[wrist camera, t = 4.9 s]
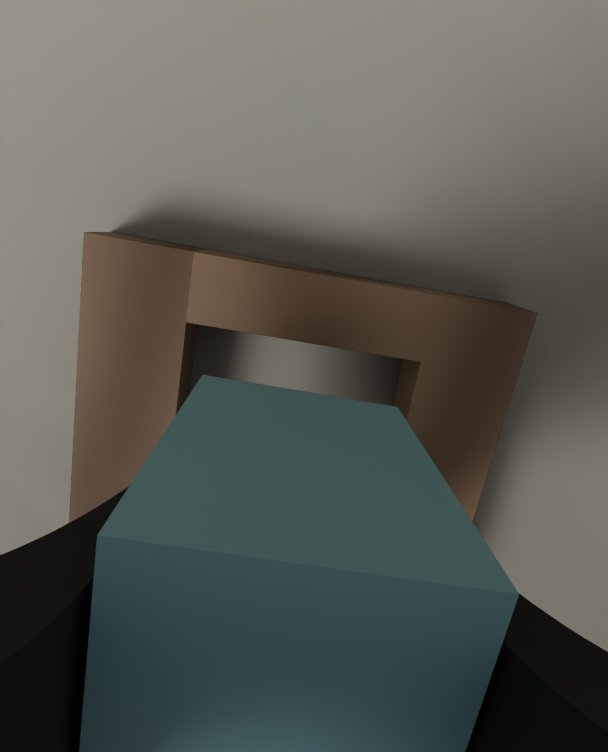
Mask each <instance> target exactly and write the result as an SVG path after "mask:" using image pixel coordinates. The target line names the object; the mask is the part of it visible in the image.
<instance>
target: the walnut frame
mask: <svg viewBox="0 0 608 752" xmlns="http://www.w3.org/2000/svg"><path fill="white" fill-rule="evenodd" d="M536 316H537V313H535V312H532V311H529V310H526V309H523V308H520V307H517V306H515V305H512V304H509V303H503V302H498V301H492V300H487V299H481V298H475V297H470V296H464V295H459V294H453V293H448V292H442V291H436V290H431V289H425V288H420V287H414V286H409V285H403V284H397V283H392V282H386V281H381V280H375V279H370V278H364V277H358V276H353V275H347V274H342V273H336V272H331V271H325V270H320V269H314V268H308V267H303V266H297V265H292V264H286V263H281V262H275V261H269V260H264V259H258V258H253V257H247V256H242V255H236V254H230V253H225V252H219V251H214V250H208V249H203V248H197V247H191V246H186V245H180V244H175V243H169V242H164V241H158V240H152V239H147V238H141V237H136V236H130V235H125V234H119V233H113V232H84V242H83V261H82V281H81V300H80V320H79V339H78V359H77V378H76V398H75V417H74V437H73V456H72V476H71V495H70V515H69V523H70V522H72V521H73V520H75V519H77V518H79V517H80V516H82V515H84V514H86V513H87V512H89V511H91V510H93V509H95V508H96V507H98V506H99V505H101V504H102V503H104V502H106V501H107V500H109V499H110V498H112V497H113V496H115V495H116V494H118V493H119V492H121V491H122V490H124V489H125V488H127V487H128V486H130V484H131V483H132V481H133V480H134V478H135V477H136V475H137V474H138V472H139V471H140V469H141V468H142V466H143V465H144V463H145V462H146V460H147V459H148V457H149V455H150V454H151V452H152V451H153V449H154V448H155V446H156V445H157V443H158V442H159V440H160V439H161V437H162V436H163V434H164V433H165V431H166V430H167V428H168V427H169V425H170V423H171V422H172V420H173V419H174V417H175V416H176V414H177V413H178V411H179V410H180V408H181V407H182V405H183V404H184V402H185V401H186V399H187V398H188V396H189V388H190V380H191V372H192V363H193V355H194V346H195V338H196V329H197V324H199V325H205V326H211V327H217V328H223V329H229V330H235V331H241V332H247V333H253V334H259V335H265V336H270V337H276V338H282V339H288V340H294V341H300V342H306V343H312V344H318V345H324V346H330V347H336V348H342V349H348V350H353V351H359V352H365V353H371V354H377V355H383V356H389V357H395V358H401V359H403V363H402V367H401V371H400V375H399V379H398V384H397V388H396V392H395V396H394V400H393V404H392V406H395V407H398V409H399V410H400V412H401V413H402V415H403V416H404V418H405V419H406V421H407V422H408V424H409V425H410V427H411V429H412V430H413V432H414V433H415V435H416V436H417V438H418V439H419V441H420V442H421V444H422V445H423V447H424V448H425V450H426V452H427V453H428V455H429V456H430V458H431V459H432V461H433V462H434V464H435V465H436V467H437V468H438V470H439V472H440V473H441V475H442V476H443V478H444V479H445V481H446V482H447V484H448V485H449V487H450V488H451V490H452V492H453V493H454V495H455V496H456V498H457V499H458V501H459V502H460V504H461V505H462V507H463V508H464V510H465V512H466V513H467V515H468V516H469V518H470V519H471V521H472V522H473V519H474V516H475V512H476V509H477V506H478V503H479V499H480V496H481V493H482V490H483V487H484V483H485V480H486V477H487V474H488V470H489V467H490V464H491V461H492V457H493V454H494V451H495V448H496V445H497V441H498V438H499V435H500V432H501V428H502V425H503V422H504V419H505V416H506V412H507V409H508V406H509V403H510V399H511V396H512V393H513V390H514V387H515V383H516V380H517V377H518V374H519V370H520V367H521V364H522V361H523V357H524V354H525V351H526V348H527V345H528V341H529V338H530V335H531V332H532V328H533V325H534V322H535V319H536Z"/></svg>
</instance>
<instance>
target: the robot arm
mask: <svg viewBox="0 0 608 752" xmlns="http://www.w3.org/2000/svg"><path fill="white" fill-rule="evenodd" d="M128 488H129V486H128V487H127V488H125V489H124V490H122V491H121V492H119V493H118V494H116V495H115V496H113V497H112V498H110V499H109V500H107V501H106V502H104V503H102V504H101V505H99V506H98V507H96V508H95V509H93V510H91V511H89V512H87V513H86V514H84V515H82V516H80V517H79V518H77V519H75V520H73V521H72V522H70V523H68V524H66V525H65V526H63V527H61V528H59V529H57V530H55V531H53V532H51V533H49V534H47V535H45V536H43V537H41V538H39V539H37V540H35V541H32V542H30V543H28V544H26V545H23V546H21V547H19V548H17V549H14V550H12V551H10V552H7V553H5V554H2V555H0V752H79V746H80V734H81V722H82V710H83V698H84V686H85V674H86V663H87V651H88V639H89V627H90V615H91V603H92V591H93V579H94V567H95V555H96V543H97V535H98V533H99V532H100V530H101V529H102V527H103V526H104V524H105V523H106V521H107V520H108V518H109V516H110V515H111V513H112V512H113V510H114V509H115V507H116V506H117V504H118V503H119V501H120V500H121V498H122V497H123V495H124V494H125V492H126V491H127V489H128ZM465 752H608V652H607V651H605V650H603V649H602V648H600V647H598V646H597V645H595V644H593V643H592V642H590V641H588V640H587V639H585V638H583V637H582V636H580V635H578V634H577V633H575V632H574V631H572V630H571V629H569V628H567V627H566V626H564V625H563V624H561V623H560V622H558V621H557V620H556V619H554V618H553V617H551V616H550V615H548V614H547V613H545V612H544V611H543V610H541V609H540V608H538V607H537V606H535V605H534V604H532V603H531V602H530V601H528V600H527V599H526V598H524V597H523V596H522V595H520V594H519V596H518V599H517V602H516V605H515V608H514V611H513V614H512V617H511V620H510V623H509V626H508V629H507V631H506V634H505V637H504V640H503V643H502V646H501V649H500V652H499V655H498V658H497V661H496V664H495V667H494V669H493V672H492V675H491V678H490V681H489V684H488V687H487V690H486V693H485V696H484V699H483V702H482V705H481V707H480V710H479V713H478V716H477V719H476V722H475V725H474V728H473V731H472V734H471V737H470V740H469V743H468V745H467V748H466V751H465Z"/></svg>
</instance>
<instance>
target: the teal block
mask: <svg viewBox="0 0 608 752" xmlns="http://www.w3.org/2000/svg"><path fill="white" fill-rule="evenodd" d="M518 596H519V593H518V592H517V590H516V588H515V587H514V585H513V584H512V582H511V581H510V579H509V578H508V576H507V575H506V573H505V572H504V570H503V568H502V567H501V565H500V564H499V562H498V561H497V559H496V558H495V556H494V555H493V553H492V552H491V550H490V548H489V547H488V545H487V544H486V542H485V541H484V539H483V538H482V536H481V535H480V533H479V532H478V530H477V528H476V527H475V525H474V524H473V522H472V521H471V519H470V518H469V516H468V515H467V513H466V512H465V510H464V508H463V507H462V505H461V504H460V502H459V501H458V499H457V498H456V496H455V495H454V493H453V492H452V490H451V488H450V487H449V485H448V484H447V482H446V481H445V479H444V478H443V476H442V475H441V473H440V472H439V470H438V468H437V467H436V465H435V464H434V462H433V461H432V459H431V458H430V456H429V455H428V453H427V452H426V450H425V448H424V447H423V445H422V444H421V442H420V441H419V439H418V438H417V436H416V435H415V433H414V432H413V430H412V429H411V427H410V425H409V424H408V422H407V421H406V419H405V418H404V416H403V415H402V413H401V412H400V410H399V409H398V407H395V406H389V405H383V404H377V403H371V402H365V401H359V400H353V399H347V398H341V397H335V396H328V395H322V394H316V393H310V392H304V391H298V390H292V389H286V388H280V387H274V386H268V385H262V384H256V383H250V382H244V381H238V380H232V379H226V378H220V377H214V376H207V375H202V376H201V378H200V379H199V381H198V382H197V384H196V385H195V387H194V388H193V390H192V391H191V393H190V395H189V396H188V398H187V399H186V401H185V402H184V404H183V405H182V407H181V408H180V410H179V411H178V413H177V414H176V416H175V417H174V419H173V420H172V422H171V423H170V425H169V427H168V428H167V430H166V431H165V433H164V434H163V436H162V437H161V439H160V440H159V442H158V443H157V445H156V446H155V448H154V449H153V451H152V452H151V454H150V455H149V457H148V459H147V460H146V462H145V463H144V465H143V466H142V468H141V469H140V471H139V472H138V474H137V475H136V477H135V478H134V480H133V481H132V483H131V484H130V486H129V488H128V489H127V491H126V492H125V494H124V495H123V497H122V498H121V500H120V501H119V503H118V504H117V506H116V507H115V509H114V510H113V512H112V513H111V515H110V516H109V518H108V520H107V521H106V523H105V524H104V526H103V527H102V529H101V530H100V532H99V533H98V535H97V543H96V555H95V567H94V579H93V591H92V603H91V615H90V627H89V639H88V651H87V663H86V674H85V686H84V698H83V710H82V722H81V734H80V746H79V752H465V751H466V748H467V745H468V743H469V740H470V737H471V734H472V731H473V728H474V725H475V722H476V719H477V716H478V713H479V710H480V707H481V705H482V702H483V699H484V696H485V693H486V690H487V687H488V684H489V681H490V678H491V675H492V672H493V669H494V667H495V664H496V661H497V658H498V655H499V652H500V649H501V646H502V643H503V640H504V637H505V634H506V631H507V629H508V626H509V623H510V620H511V617H512V614H513V611H514V608H515V605H516V602H517V599H518Z"/></svg>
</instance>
